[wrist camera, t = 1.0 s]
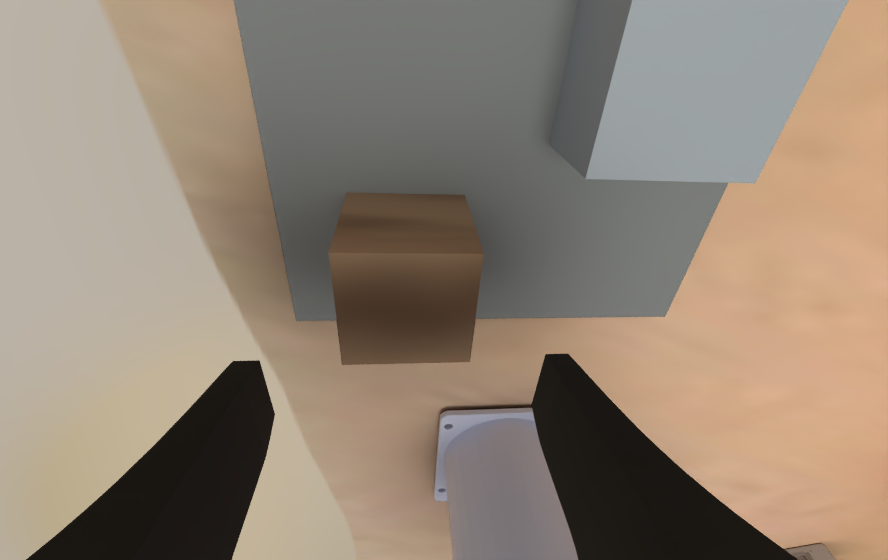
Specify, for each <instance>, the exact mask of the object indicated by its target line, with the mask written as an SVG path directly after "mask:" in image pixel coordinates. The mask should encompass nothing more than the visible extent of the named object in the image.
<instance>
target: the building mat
mask: <svg viewBox="0 0 888 560" xmlns="http://www.w3.org/2000/svg"><path fill="white" fill-rule="evenodd" d="M578 2H579V0H234V5H235V10H236V15H237V20H238V25H239V30H240V35H241V41H242V46H243V51H244V56H245V61H246V66H247V71H248V76H249V82H250V87H251V92H252V97H253V102H254V107H255V112H256V117H257V123H258V128H259V133H260V138H261V143H262V148H263V153H264V158H265V164H266V169H267V174H268V179H269V184H270V189H271V194H272V199H273V205H274V210H275V215H276V220H277V225H278V230H279V235H280V240H281V246H282V251H283V256H284V261H285V266H286V271H287V276H288V281H289V287H290V292H291V297H292V302H293V307H294V312H295V317H296V321H317V320H337V319H336V311H335V303H334V295H333V286H332V278H331V270H330V262H329V249H330V246H331V243H332V239H333V236H334V233H335V229H336V226H337V223H338V219H339V216H340V213H341V209H342V206H343V203H344V199H345V196H346V193H347V192H350V193H399V194H447V195H465V198H466V201H467V204H468V207H469V210H470V213H471V216H472V219H473V222H474V225H475V228H476V231H477V234H478V237H479V240H480V243H481V247H482V250H483V253H484V257H483V264H482V272H481V280H480V287H479V295H478V303H477V311H476V318H475V319H494V318H582V317H665V316H666V314H667V312H668V310H669V307H670V305H671V303H672V301H673V299H674V297H675V295H676V293H677V291H678V288H679V286H680V284H681V282H682V280H683V278H684V276H685V274H686V271H687V269H688V267H689V265H690V263H691V261H692V259H693V257H694V254H695V252H696V250H697V248H698V246H699V244H700V242H701V240H702V238H703V235H704V233H705V231H706V229H707V227H708V225H709V223H710V221H711V218H712V216H713V214H714V212H715V210H716V208H717V206H718V204H719V201H720V199H721V197H722V195H723V193H724V191H725V189H726V187H727V184H728V183H723V182H683V181H644V180H605V179H585V178H584V177H583V176H582V175H581V174H580V173H579V172H577V171H576V170H575V169H574V168H573V167H572V166H571V165H570V164H569V163H568V162H567V161H566V160H565V159H564V158H563V157H562V156H561V155H560V154H558V153H557V152H556V151H555V150H554V149H553V148H552V147H551V146H550V141H551V136H552V131H553V126H554V122H555V117H556V112H557V107H558V102H559V97H560V92H561V87H562V82H563V77H564V72H565V67H566V62H567V57H568V52H569V47H570V42H571V37H572V32H573V27H574V22H575V17H576V12H577V7H578Z"/></svg>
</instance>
